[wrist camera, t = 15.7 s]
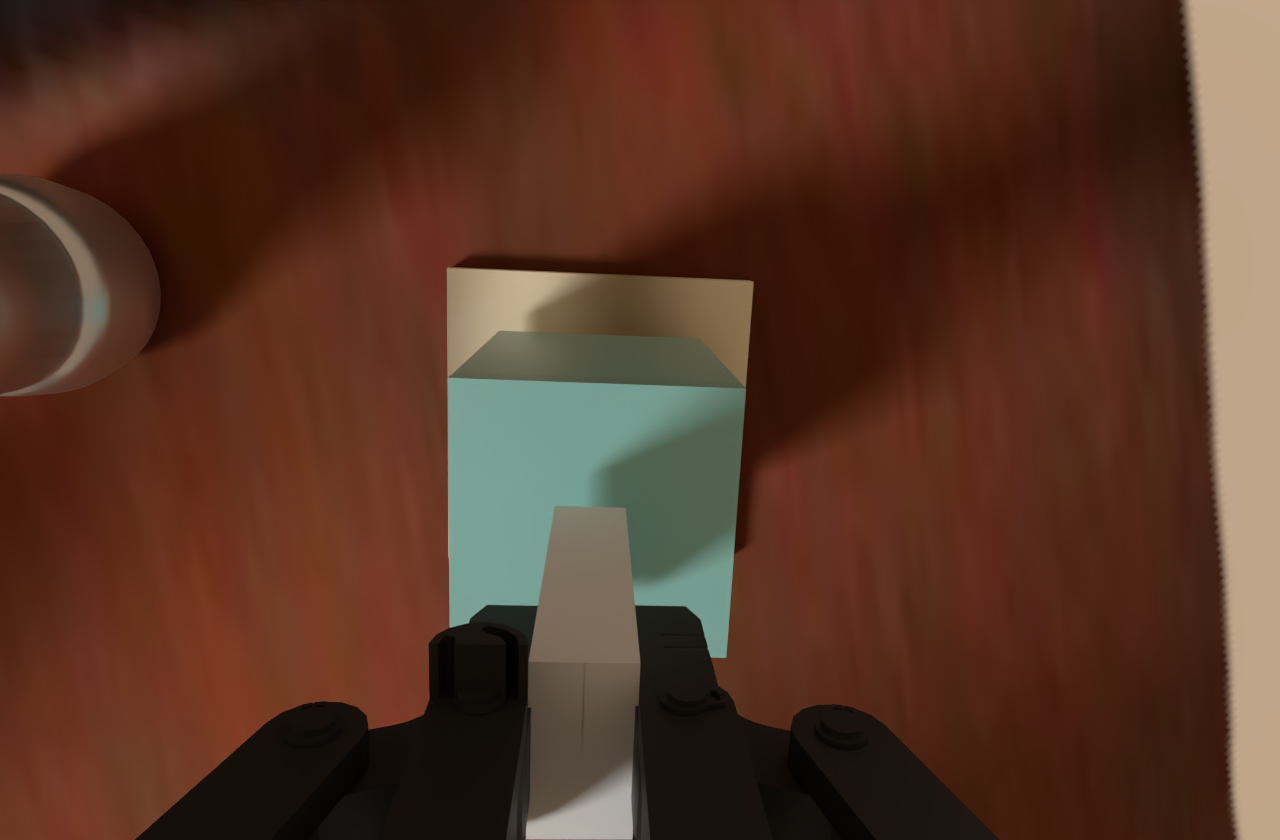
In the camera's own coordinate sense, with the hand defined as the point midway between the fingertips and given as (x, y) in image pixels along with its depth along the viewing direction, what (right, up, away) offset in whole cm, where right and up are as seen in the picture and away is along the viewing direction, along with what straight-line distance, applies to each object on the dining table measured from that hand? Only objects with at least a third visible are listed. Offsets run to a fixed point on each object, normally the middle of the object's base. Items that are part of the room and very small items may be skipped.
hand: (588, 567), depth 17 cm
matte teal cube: (0, +3, +9) cm, 10 cm away
